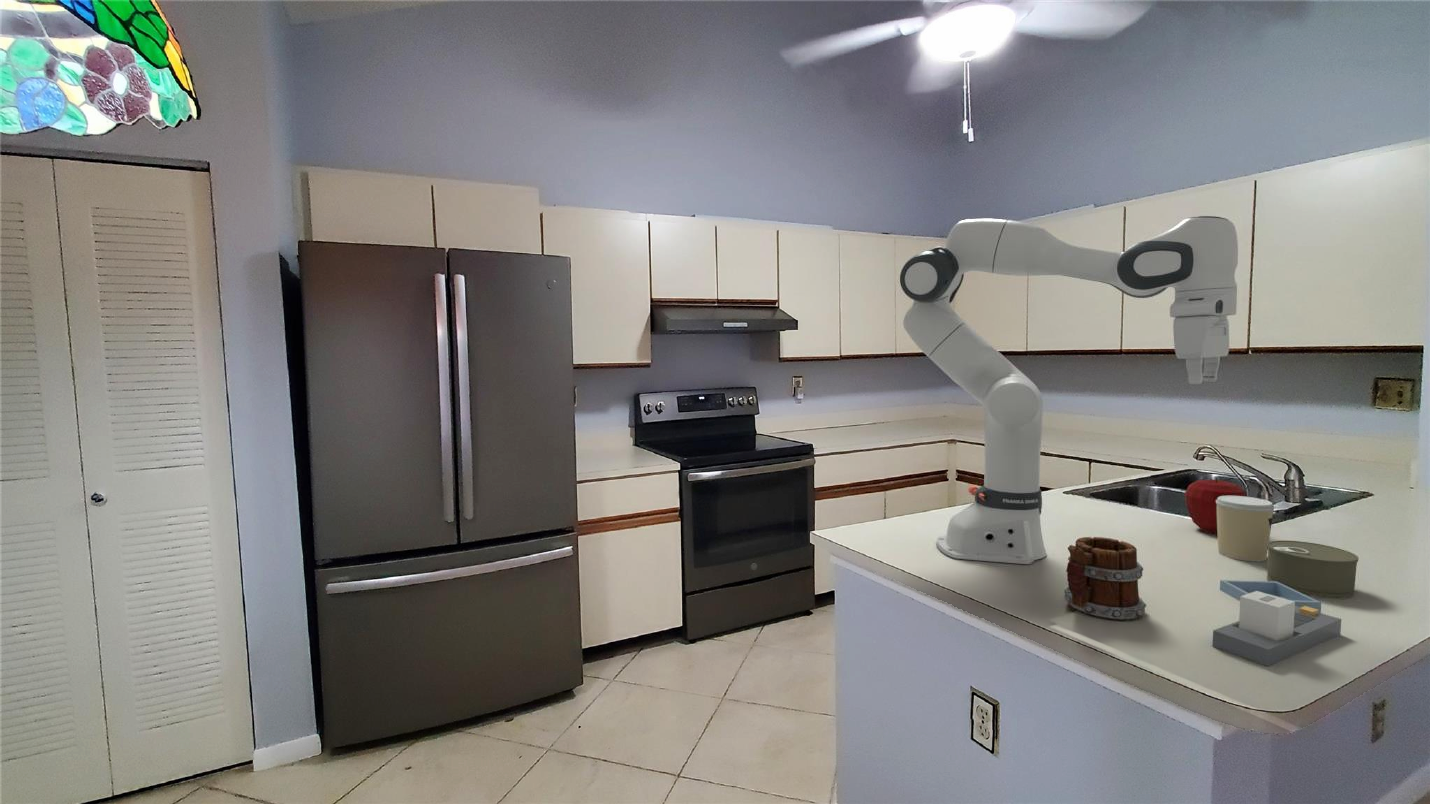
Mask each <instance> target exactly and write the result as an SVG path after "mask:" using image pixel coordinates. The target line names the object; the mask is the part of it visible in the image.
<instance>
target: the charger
mask: <svg viewBox="0 0 1430 804" xmlns="http://www.w3.org/2000/svg"><path fill="white" fill-rule="evenodd" d="M1294 611H1295V602H1294V601H1291V600H1287V599H1284V598H1280V597H1277V596H1273V595H1270V594H1266V593H1263V592H1259V591H1255V592H1252V593H1249V594H1246V595H1243V596H1240V601H1239V620H1238V621H1239V628H1240V629H1243V630H1246V631H1249V632H1252V633H1255V634H1258V635H1261V636H1264V637H1267V638H1270V639H1273V640H1276V641H1279V642H1282V641H1285V640H1287V639H1289V638H1292V637H1293V628H1294Z"/></svg>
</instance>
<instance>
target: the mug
mask: <svg viewBox="0 0 1430 804" xmlns="http://www.w3.org/2000/svg"><path fill="white" fill-rule="evenodd" d="M1067 551H1068V552H1069V556H1068V558H1067V559H1068V560H1067V561H1068V562H1067V565H1066V570H1065V571H1066V573H1067V574H1066V578H1067V583H1068V584H1067V586H1068V587H1067V588H1065V589H1064V590H1063V593H1064V599H1065V602H1066V603H1067V606H1068V607H1067V608H1068V609H1069V610H1070V611H1072V613H1075V612H1080V613H1082V614H1086V615H1087V616H1090V617H1094V618H1097V619H1103V620H1108V621H1119V622H1120V621H1125V622H1126V621H1134V620H1137V619H1139V618H1140V617H1143V616H1144V614H1145V612H1146V607H1147V604H1146V602H1145V601H1143V599H1142V598H1141V597H1140V595H1139V594H1140V593H1139V580H1140V579H1142V576H1143V571H1144V567H1143V566H1142V564H1140V563H1139V562H1138V557H1137V555H1138V551H1137V548H1136V546H1134V545H1133V544H1131V543H1129V542H1127V541H1124V540H1122V541H1119V539H1114V538H1110V537H1103V536H1102V537H1101V536H1093V537H1091V536H1085V537H1080V538H1078V539H1076V540H1075V545H1072V544H1070V545H1069V546H1068V547H1067Z"/></svg>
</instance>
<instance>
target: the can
mask: <svg viewBox="0 0 1430 804" xmlns="http://www.w3.org/2000/svg"><path fill="white" fill-rule="evenodd" d="M1267 547H1268V551H1267V568H1266V569H1267V570H1266V571H1267V575H1266V581H1277V582H1279V583H1281V584H1283V585H1285V586H1287V587H1290V588H1292V589H1294V590H1296V591H1298V592H1300V593H1302V594H1304V595H1307V596H1313V597H1318V598H1325V599H1326V598H1327V599H1350V598H1352V597H1354V596H1355V587H1356V577H1357V576H1356V574H1357V565H1358V561H1359V557H1358V555H1356V554H1354V553H1353V552H1350V551H1348V550H1346V549H1342V548H1338V547H1334V546H1331V545H1326V544H1325V545H1324V544H1321V543H1316V542H1308V541H1299V540H1273V541H1269V543H1268V544H1267ZM1349 597H1350V598H1349Z"/></svg>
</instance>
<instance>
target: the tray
mask: <svg viewBox="0 0 1430 804" xmlns="http://www.w3.org/2000/svg"><path fill="white" fill-rule="evenodd" d="M1219 590H1220V591H1221V592H1222V593H1224V594H1226V595H1228V596H1230V597H1232V598H1234V599H1235V600H1237V601H1239V602H1240V596H1243V595H1246V594H1249V593H1252V592H1255V591H1259V592H1263V593H1266V594H1270V595H1273V596H1277V597H1280V598H1284V599H1287V600H1291V601H1294V602H1295V606H1298V607H1304V606H1307V607H1311V608H1314V609H1318V610H1319V613H1322V612H1321V611H1322V602H1321V601H1319V600H1318V599H1315V598H1312V597H1310V595H1306V594H1302V593H1300V592H1298V591H1296V590H1294V589H1292V588H1290V587H1287V586H1285V585H1283V584H1281V583H1279V582H1277V581H1268V580H1239V579H1238V580H1235V579H1233V580H1232V579H1231V580H1230V579H1220V581H1219Z"/></svg>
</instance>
